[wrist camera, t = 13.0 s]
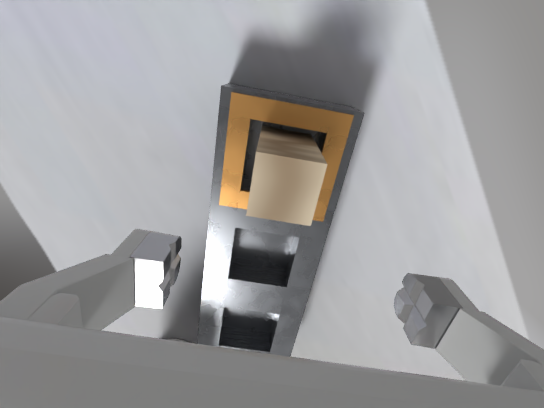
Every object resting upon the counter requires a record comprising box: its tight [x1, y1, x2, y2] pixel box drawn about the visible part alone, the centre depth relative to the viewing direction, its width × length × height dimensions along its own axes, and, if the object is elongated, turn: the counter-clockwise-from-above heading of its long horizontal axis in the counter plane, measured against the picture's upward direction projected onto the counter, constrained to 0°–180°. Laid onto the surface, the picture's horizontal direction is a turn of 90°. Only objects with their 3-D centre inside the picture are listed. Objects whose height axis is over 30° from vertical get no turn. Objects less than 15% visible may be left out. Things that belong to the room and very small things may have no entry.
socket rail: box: [197, 84, 364, 357], centre depth 27 cm, size 27×10×4 cm, turn 170°
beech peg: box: [246, 125, 327, 226], centre depth 20 cm, size 4×4×8 cm
